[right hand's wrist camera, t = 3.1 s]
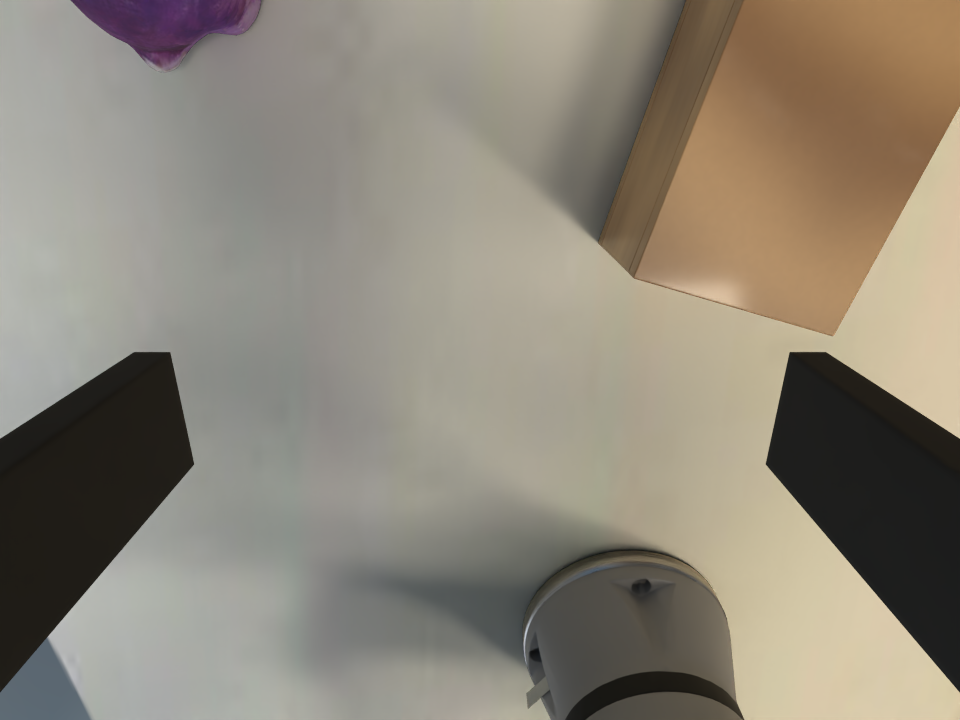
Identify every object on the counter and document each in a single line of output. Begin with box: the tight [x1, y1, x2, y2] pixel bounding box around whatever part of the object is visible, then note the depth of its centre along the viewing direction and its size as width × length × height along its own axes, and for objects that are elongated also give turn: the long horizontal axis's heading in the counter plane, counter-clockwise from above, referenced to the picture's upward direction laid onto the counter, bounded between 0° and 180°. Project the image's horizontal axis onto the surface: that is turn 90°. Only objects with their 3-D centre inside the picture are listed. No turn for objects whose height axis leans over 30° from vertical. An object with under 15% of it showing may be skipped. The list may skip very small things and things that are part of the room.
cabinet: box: [598, 0, 960, 336], centre depth 27 cm, size 18×10×8 cm, turn 164°
